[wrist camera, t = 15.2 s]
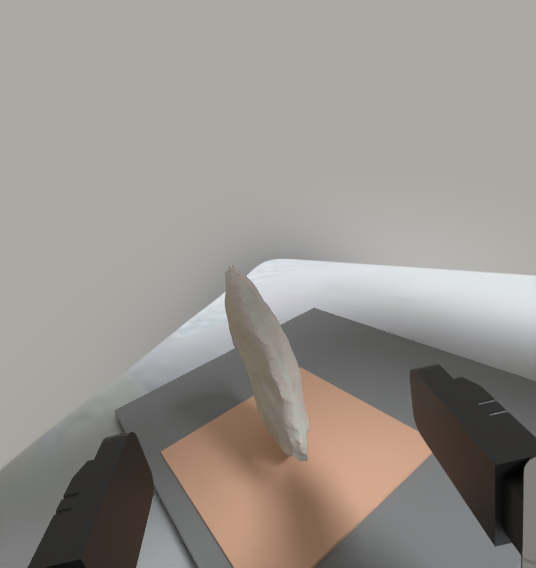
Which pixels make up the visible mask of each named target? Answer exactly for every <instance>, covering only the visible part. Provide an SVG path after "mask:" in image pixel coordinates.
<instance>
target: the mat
mask: <svg viewBox="0 0 536 568" xmlns="http://www.w3.org/2000/svg"><path fill="white" fill-rule="evenodd" d="M280 326H281V328H282V330H283V332H284V333H285V335H286V336H287V338H288V340H289V343H290V346H291V349H292V351H293V353H294V356H295V358H296V360H297V363H298V366H299V369H300V373H301V383H302V393H303V398H304V402H305V407H306V412H307V416H308V420H309V425H310V431H309V432H307V433H306V435H307V452H308V461H307V462H306V461H298V460H297V459H296V458H295V457H294V456H291V457H289V456H287V455H285V453H284V452H283V451H282V449H281V448H280V446H279V445H278V444H277V443H276V441H275V440H274V439H273V437H272V436H271V434H270V433H269V431H268V430H267V429H266V427H265V426H264V424H263V422H262V421H261V419H260V417H259V414H258V411H257V406H256V401H255V399H254V394H253V389H252V385H251V382H250V379H249V376H248V373H247V370H246V367H245V365H244V363H243V360H242V358H241V356H240V354H239V353H238V351H237V350H236V348H235V349H233V350H231V351H229V352H227V353H226V354H224V355H222V356H220V357H218V358H216V359H214V360H212V361H210V362H208V363H206V364H204V365H202V366H200V367H198V368H196V369H194V370H193V371H191V372H189V373H187V374H185V375H183V376H181V377H179V378H177V379H175V380H173V381H171V382H169V383H167V384H165V385H163V386H161V387H160V388H158V389H156V390H154V391H152V392H150V393H148V394H146V395H144V396H142V397H140V398H138V399H136V400H134V401H132V402H130V403H128V404H126V405H125V406H123V407H121V408H119V409H117V410H115V413H116V415H117V418H118V420H119V422H120V424H121V426H122V428H123V430H124V431H125V433H129V432H134V433H135V434H136V435H137V437H138V440H139V442H140V445H141V447H142V450H143V452H144V455H145V457H146V460H147V462H148V465H149V467H150V470H151V472H152V476H153V484H154V488H155V490H156V491H157V493H158V495H159V497H160V499H161V501H162V503H163V505H164V506H165V508H166V510H167V512H168V514H169V516H170V518H171V519H172V521H173V523H174V525H175V527H176V529H177V531H178V533H179V534H180V536H181V538H182V540H183V542H184V544H185V546H186V548H187V549H188V551H189V553H190V555H191V557H192V559H193V561H194V563H195V564H196V566H197V568H521V555H520V553H519V552H518V550H517V549H516V548H515V546H514V545H513V543H509V544H505V545H500V546H496V547H495V546H494V545H493V543H492V542H491V540H490V539H489V537H488V536H487V534H486V532H485V531H484V529H483V528H482V526H481V525H480V523H479V522H478V520H477V519H476V517H475V516H474V514H473V513H472V511H471V510H470V508H469V507H468V505H467V504H466V502H465V501H464V499H463V498H462V496H461V495H460V493H459V492H458V490H457V489H456V487H455V486H454V484H453V483H452V481H451V480H450V478H449V477H448V475H447V474H446V472H445V471H444V469H443V468H442V466H441V465H440V463H439V462H438V460H437V459H436V457H435V456H434V454H433V453H432V451H431V450H430V448H429V447H428V445H427V444H426V442H425V441H424V439H423V438H422V436H421V435H420V433H419V431H418V428H417V426H416V423H415V420H414V416H413V408H412V397H411V386H410V370H411V369H415V368H419V367H423V366H428V365H432V364H439V365H440V366H442V367H443V368H444V369H445V371H446V372H447V373H448V374H449V375H450V376H451V377H452V378H453V379H455V378H459V377H463V378H466V379H468V380H470V381H472V382H474V383H476V384H478V385H480V386H481V387H483V388H484V389H485V390H486V391H487V392H488V393H489V394H490V395H491V396H492V397H493V398H494V399H495V401H497V402H499V403H500V404H501V405H502V406H503V407H504V408H505V409H506V411H507V413H508V412H509V413H510V414H511V415H512V416H514V417H515V418H516V419H517V420H518V421H519V422H520V423H521V424H522V425H523V426H524V427H525V428H526V429H527V430H528V431H530V432H531V433H532V434H533V435H534V436H535V437H536V382H535V381H532V380H529V379H526V378H523V377H520V376H517V375H514V374H511V373H508V372H505V371H502V370H499V369H496V368H493V367H490V366H487V365H484V364H481V363H478V362H475V361H472V360H469V359H466V358H463V357H460V356H457V355H454V354H451V353H448V352H445V351H442V350H439V349H436V348H433V347H430V346H427V345H424V344H421V343H418V342H415V341H412V340H409V339H406V338H403V337H400V336H397V335H394V334H391V333H388V332H385V331H382V330H379V329H376V328H373V327H370V326H367V325H364V324H361V323H358V322H355V321H352V320H349V319H346V318H343V317H340V316H337V315H334V314H331V313H328V312H325V311H322V310H319V309H316V308H313V309H311V310H309V311H307V312H305V313H303V314H301V315H299V316H297V317H295V318H293V319H292V320H290V321H288V322H286V323H284V324H282V325H280Z"/></svg>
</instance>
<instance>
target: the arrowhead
mask: <svg viewBox="0 0 536 568" xmlns="http://www.w3.org/2000/svg"><path fill="white" fill-rule="evenodd" d="M225 276H226V295H225V309H226V314H227V318H228V323H229V329H230V333H231V336H232V340H233V344H234V346H235V348H236V350H237V351H238V353H239V354H240V356H241V358H242V360H243V363H244V365H245V367H246V370H247V373H248V376H249V379H250V382H251V385H252V389H253V394H254V399H255V401H256V406H257V411H258V414H259V417H260V419H261V421H262V422H263V424H264V426H265V427H266V429H267V430H268V431H269V433H270V434H271V436H272V437H273V439H274V440H275V441H276V443H277V444H278V445H279V446H280V448H281V449H282V451H283V452H284V453H285V455H287V456H289V457H291V456H294V457H295V458H296V459H297V460H298V461H306V462H307V461H308V452H307V435H306V433H307V432H309V431H310V425H309V420H308V416H307V412H306V407H305V402H304V398H303V393H302V383H301V373H300V369H299V366H298V363H297V360H296V358H295V356H294V353H293V351H292V349H291V346H290V343H289V340H288V338H287V336H286V335H285V333H284V332H283V330H282V328H281V326H280V324H279V322H278V320H277V318H276V316H275V315H274V314H273V312H272V311H271V310H270V308H269V307H268V305H267V304H266V303H265V302H264V300H263V299H262V297H261V295H260V293H259V292H258V290H257V288H256V287H255V285H254V284H253V283H252V282H251V281H250V280H249V279H248V278H247V277H246V276H245V275H244V274H242V273H241V272H240V271H239V270H238V269H236V268H235V267H234V266H232V267H229V270H228V271H226V272H225Z"/></svg>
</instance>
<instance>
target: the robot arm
mask: <svg viewBox="0 0 536 568" xmlns="http://www.w3.org/2000/svg"><path fill="white" fill-rule="evenodd" d="M410 386H411V397H412V408H413V416H414V420H415V423H416V426H417V428H418V431H419V433H420V435H421V436H422V438H423V439H424V441H425V442H426V444H427V445H428V447H429V448H430V450H431V451H432V453H433V454H434V456H435V457H436V459H437V460H438V462H439V463H440V465H441V466H442V468H443V469H444V471H445V472H446V474H447V475H448V477H449V478H450V480H451V481H452V483H453V484H454V486H455V487H456V489H457V490H458V492H459V493H460V495H461V496H462V498H463V499H464V501H465V502H466V504H467V505H468V507H469V508H470V510H471V511H472V513H473V514H474V516H475V517H476V519H477V520H478V522H479V523H480V525H481V526H482V528H483V529H484V531H485V532H486V534H487V536H488V537H489V539H490V540H491V542H492V543H493V545H494V546H495V547H496V546H500V545H505V544H509V543H513V545H514V546H515V548H516V549H517V550H518V552H519V553H520V555H521V568H536V437H535V436H534V435H533V434H532V433H531V432H530V431H528V430H527V429H526V428H525V427H524V426H523V425H522V424H521V423H520V422H519V421H518V420H517V419H516V418H515V417H514V416H512V415H511V414H510V413H509V412H508V413H507V411H506V409H505V408H504V407H503V406H502V405H501V404H500V403H499V402H497V401H495V399H494V398H493V397H492V396H491V395H490V394H489V393H488V392H487V391H486V390H485V389H484V388H483V387H481V386H480V385H478V384H476V383H474V382H472V381H470V380H468V379H466V378H463V377H459V378H455V379H453V378H452V377H451V376H450V375H449V374H448V373H447V372H446V371H445V369H444V368H443V367H442V366H440V365H439V364H432V365H428V366H423V367H419V368H415V369H411V370H410ZM153 491H154V484H153V476H152V472H151V470H150V467H149V465H148V462H147V460H146V457H145V455H144V452H143V450H142V447H141V445H140V442H139V440H138V437H137V435H136V434H135V433H134V432H129V433H124V434H120V435H116V436H111V437H107V438H105V439H104V440H103V442H102V444H101V446H100V448H99V450H98V452H97V455H96V457H95V459H94V460H91V461H87V462H86V463H85V465H84V466H83V467H82V468H81V469H80V470H79V471H78V472H77V474H76V475H75V476H74V477H73V478H72V480H71V482H70V484H69V486H68V488H67V490H66V492H65V494H64V499H63V500H61V502H60V504H59V506H58V508H57V510H56V515H54V516H53V518H52V520H51V522H50V524H49V526H48V528H47V530H46V532H45V534H44V536H43V538H42V540H41V542H40V544H39V546H38V548H37V550H36V552H35V554H34V556H33V558H32V560H31V562H30V564H29V566H28V568H136V565H137V561H138V557H139V553H140V548H141V544H142V540H143V536H144V532H145V527H146V523H147V519H148V515H149V511H150V506H151V502H152V498H153Z"/></svg>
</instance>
